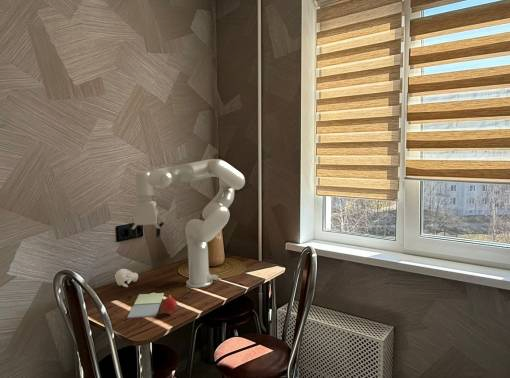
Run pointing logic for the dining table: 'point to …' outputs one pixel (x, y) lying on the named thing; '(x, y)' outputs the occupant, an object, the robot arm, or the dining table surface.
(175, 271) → the dining table surface
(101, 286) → the dining table surface
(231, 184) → the robot arm
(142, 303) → the mat
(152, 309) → the toy mat
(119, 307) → the dining table surface
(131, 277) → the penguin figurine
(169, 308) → the onion
